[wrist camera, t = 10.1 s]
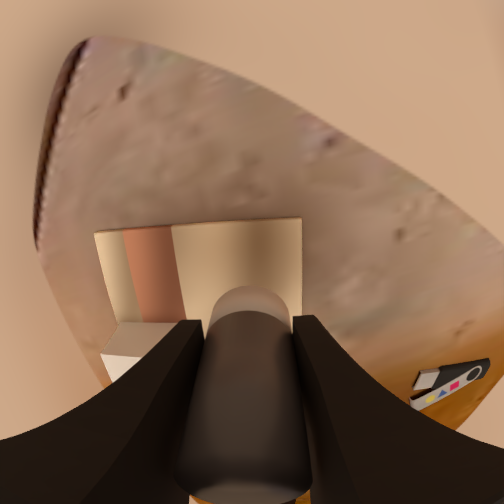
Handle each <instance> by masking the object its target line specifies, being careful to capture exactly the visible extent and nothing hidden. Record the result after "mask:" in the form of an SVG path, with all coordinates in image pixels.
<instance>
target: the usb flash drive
mask: <svg viewBox="0 0 504 504" xmlns="http://www.w3.org/2000/svg"><path fill="white" fill-rule="evenodd" d="M489 367H490V360H489V358H487V359H481V360H476V361H470V362H464V363H458V364H451V365H445V366H440V367H439V368H436V369H429V370H420V372H421V374H420V376H419V378H418V380H417V382H416V384H415V386H413V387H412V388H413V390H419V389H426V388H432V389H436V388H437V389H436V390H434V391H432V392H430V393H428V394H426V395H424V396H422V397H420V398H418V399H416V400H411V398H410V397H409V400H410V406H411V407H412V408H414V409H416V410H417V411H419V410H421V409H423V408H425V407H427V406H429V405H431V404H433V403H435V402H437V401H438V400H440V399H442V398H444V397H446V396H448V395H449V394H451V393H453V392H455V391H456V390H458V389H460V388H462V387H463V386H465V385H467V384H468V383H470V382H471V381H473V380H477V379H481V378H483V377H484V376H485V374H486V372H487V371H488V369H489Z"/></svg>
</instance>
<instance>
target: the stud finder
mask: <svg viewBox="0 0 504 504" xmlns="http://www.w3.org/2000/svg"><path fill="white" fill-rule="evenodd" d="M176 324H177V323H145V322H121V323H120V324H119V326H118V327H117V329H116V330H115V332H114V333H113V335H112V337H111V338H110V340H109V341H108V343H107V344H106V346H105V347H104V349H103V351H102V352H101V354H100V355H101V357H102V359H103V362H104V364H105V367H106V369H107V371H108V373H109V376H110V378H111V380H112V382H114V381H116V380H117V379H118V378H119V377H120V376H122V375H123V374H124V373H125V372H126V371H127V370H129V369H130V368H131V367H132V366H133V365H134V364H136V363H137V362H138V361H139V360H140V359H141V358H142V357H144V356H145V355H146V354H147V353H148V352H149V351H150V350H151V349H152V348H153V347H154V346H155V345H156V344H157V343H158V342H159V341H160V340H161V339H162V338H163V337H164V336H165V335H166V334H167V333H168V332H169V331H170V330H171V329H172V328H173V327H174V326H175V325H176Z"/></svg>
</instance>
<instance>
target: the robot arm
mask: <svg viewBox="0 0 504 504" xmlns="http://www.w3.org/2000/svg"><path fill="white" fill-rule="evenodd" d="M292 336H293V343H294V349H295V356H296V361H297V367H298V374H299V380H300V387H301V394H302V401H303V408H304V415H305V423H306V430H307V438H308V445H309V453H310V461H311V469H312V477H313V483H312V486H311V487H310V498H311V504H504V449H503V448H500V447H497V446H494V445H490V444H487V443H484V442H481V441H478V440H475V439H473V438H470V437H468V436H466V435H463V434H461V433H459V432H456V431H455V430H452V429H450V428H448V427H446V426H444V425H442V424H440V423H438V422H436V421H434V420H433V419H431V418H429V417H428V416H426V415H424V414H422V413H421V412H419V411H417V410H416V409H414V408H412V407H411V406H409V405H408V404H406V403H405V402H403V401H402V400H400V399H399V398H398V397H396V396H395V395H394V394H392V393H391V392H390V391H388V390H387V389H386V388H384V387H383V386H382V385H381V384H379V383H378V382H377V381H376V380H375V379H374V378H372V377H371V376H370V375H369V374H368V373H367V372H366V371H365V370H364V369H363V368H362V367H360V366H359V365H358V364H357V363H356V362H355V361H354V360H353V359H352V358H351V357H350V355H349V354H348V353H347V352H346V351H345V350H344V349H343V348H342V347H341V346H340V345H339V344H338V343H337V342H336V340H335V339H334V338H333V337H332V336H331V335H330V333H329V332H328V331H327V330H326V329H325V327H324V326H323V325H322V324H321V322H320V321H319V320H318V319H317V318H316V317H315V316H314V315H303V316H293V322H292ZM204 342H205V338H204V332H203V327H202V321H201V319H192V320H180V321H179V322H178V323H177V324H176V325H175V326H174V327H173V328H172V329H171V330H170V331H169V332H168V333H167V334H166V335H165V336H164V337H163V338H162V339H161V340H160V341H159V342H158V343H157V344H156V345H155V346H154V347H153V348H152V349H151V350H150V351H149V352H148V353H147V354H146V355H145V356H144V357H142V358H141V359H140V360H139V361H138V362H137V363H136V364H134V365H133V366H132V367H131V368H130V369H129V370H127V371H126V372H125V373H124V374H123V375H122V376H120V377H119V378H118V379H117V380H116V381H114V382H113V383H112V384H111V385H109V386H108V387H106V388H105V389H104V390H102V391H101V392H100V393H98V394H97V395H95V396H94V397H92V398H91V399H89V400H88V401H86V402H85V403H83V404H81V405H79V406H78V407H76V408H74V409H73V410H71V411H69V412H67V413H65V414H64V415H62V416H60V417H58V418H56V419H54V420H52V421H50V422H48V423H46V424H44V425H41V426H39V427H37V428H35V429H32V430H30V431H27V432H24V433H22V434H19V435H16V436H14V437H10V438H7V439H3V440H0V504H189V495H190V494H189V493H187V492H186V491H184V490H183V489H182V488H181V487H179V486H178V484H177V483H176V481H175V480H174V470H175V465H176V461H177V456H178V452H179V447H180V443H181V438H182V434H183V429H184V425H185V421H186V416H187V412H188V408H189V404H190V399H191V395H192V391H193V387H194V382H195V378H196V374H197V370H198V366H199V362H200V358H201V354H202V350H203V346H204Z"/></svg>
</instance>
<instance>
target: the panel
mask: <svg viewBox="0 0 504 504" xmlns="http://www.w3.org/2000/svg"><path fill="white" fill-rule="evenodd" d="M94 237H95V242H96V246H97V251H98V255H99V259H100V263H101V267H102V271H103V275H104V279H105V283H106V287H107V290H108V294H109V297H110V301H111V304H112V308H113V311H114V314H115V317H116V321H117V324H118V326H119V324H120V323H121V322H145V323H178V322H179V321H180V320H192V319H201V321H202V327H203V332H204V338H206V334H207V330H208V326H209V322H210V318H211V314H212V310H213V307H214V305H215V303H216V301H217V300H218V299H219V298H220V297H221V296H222V295H223V294H224V293H226V292H227V291H229V290H231V289H234V288H236V287H240V286H259V287H263V288H266V289H269V290H271V291H273V292H274V293H276V294H277V295H278V296H279V297H280V298H281V299H282V300H283V301H284V302H285V304H286V306H287V308H288V311H289V316H290V322H291V328H292V322H293V316H302V219H301V217H292V218H272V219H253V220H236V221H220V222H205V223H191V224H177V225H165V226H152V227H140V228H129V229H118V230H107V231H97V232H95V233H94Z"/></svg>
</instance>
